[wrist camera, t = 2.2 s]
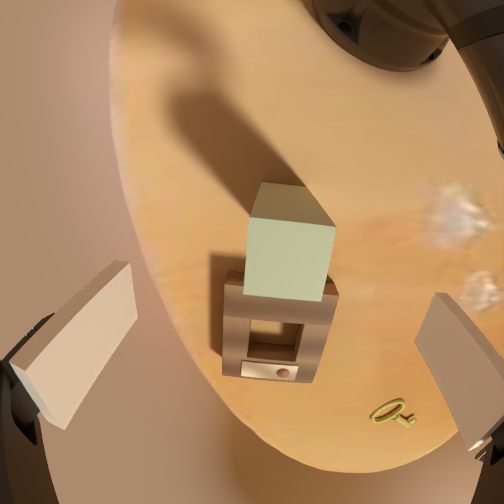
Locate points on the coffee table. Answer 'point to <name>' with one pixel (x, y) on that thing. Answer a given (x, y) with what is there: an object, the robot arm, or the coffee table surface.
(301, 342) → the socket block
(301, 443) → the coffee table surface
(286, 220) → the sage peg
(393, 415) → the key
